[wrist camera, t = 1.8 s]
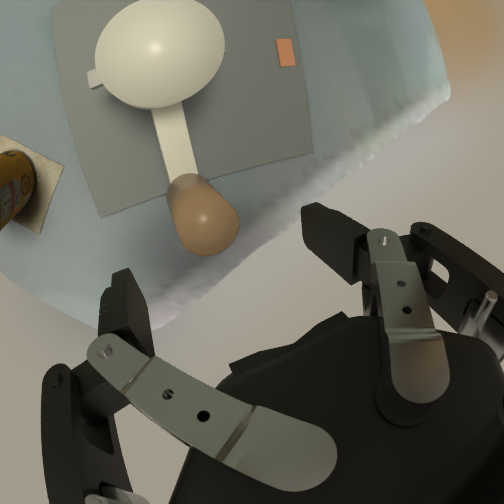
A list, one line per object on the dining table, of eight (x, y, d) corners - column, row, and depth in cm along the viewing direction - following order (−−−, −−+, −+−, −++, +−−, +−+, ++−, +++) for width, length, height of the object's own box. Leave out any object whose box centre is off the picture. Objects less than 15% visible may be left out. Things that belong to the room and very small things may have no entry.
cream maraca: (87, 44, 12) (60, 7, 5) (208, 14, 14) (247, -31, 7) (137, 225, 20) (138, 282, 14) (242, 189, 22) (290, 227, 16)
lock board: (55, 11, 11) (40, -8, 6) (274, -28, 16) (299, -46, 12) (102, 212, 23) (95, 235, 19) (305, 150, 28) (335, 159, 24)
